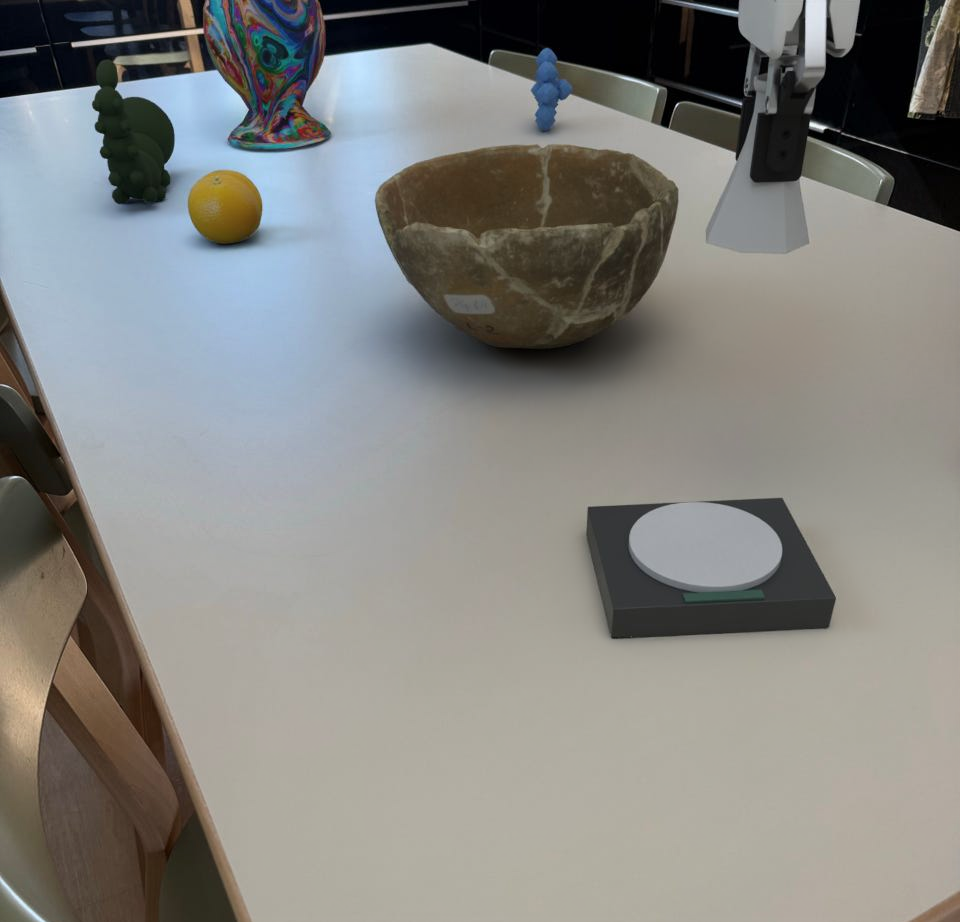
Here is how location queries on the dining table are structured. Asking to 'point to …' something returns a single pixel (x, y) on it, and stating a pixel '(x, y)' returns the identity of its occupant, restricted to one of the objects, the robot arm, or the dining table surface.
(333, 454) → the dining table surface
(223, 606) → the dining table surface
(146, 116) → the toy figurine
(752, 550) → the scale
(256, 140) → the vase
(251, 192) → the fruit
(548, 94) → the grapes
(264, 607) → the dining table surface
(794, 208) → the flask
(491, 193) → the bowl
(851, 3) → the robot arm
